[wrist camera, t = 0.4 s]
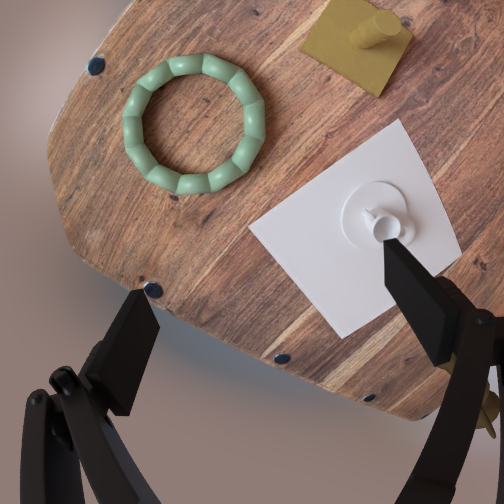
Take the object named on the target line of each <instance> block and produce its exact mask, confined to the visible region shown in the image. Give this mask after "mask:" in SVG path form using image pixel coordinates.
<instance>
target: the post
mask: <svg viewBox="0 0 504 504" xmlns="http://www.w3.org/2000/svg"><path fill="white" fill-rule="evenodd" d="M412 37H413V34H412V33H411V32H409V31H408V30H407V29H406V28H404V27H403V26H402V25H401V21H400V19H399V18H398V16H397V15H396V14H395V13H393V12H392V11H389V10H379V9H377V8H376V7H374V6H373V5H371V4H370V3H368V2H367V1H365V0H330V2H329V3H328V5H327V6H326V8H325V9H324V11H323V12H322V14H321V15H320V17H319V19H318V20H317V22H316V23H315V25H314V26H313V28H312V30H311V31H310V33H309V34H308V36H307V38H306V39H305V41H304V42H303V44H302V46H301V47H300V49H299V51H301V52H303V53H304V54H306V55H308V56H310V57H312V58H313V59H315V60H317V61H319V62H320V63H322V64H324V65H325V66H327V67H329V68H330V69H332V70H334V71H335V72H337V73H339V74H340V75H342V76H343V77H345V78H347V79H348V80H350V81H351V82H353V83H354V84H356V85H357V86H359V87H360V88H362V89H363V90H365V91H366V92H368V93H369V94H371V95H372V96H373V97H379V95H380V94H381V92H382V90H383V88H384V87H385V85H386V83H387V81H388V80H389V78H390V76H391V74H392V73H393V71H394V69H395V67H396V65H397V64H398V62H399V60H400V58H401V56H402V55H403V53H404V51H405V49H406V47H407V46H408V44H409V42H410V40H411V38H412Z"/></svg>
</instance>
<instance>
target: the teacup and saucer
mask: <svg viewBox="0 0 504 504" xmlns="http://www.w3.org/2000/svg"><path fill="white" fill-rule="evenodd" d="M340 225H341V230H342V233H343V235H344V237H345V238H346V240H347V241H348V242H349V243H350V244H351V245H352V246H353V247H355V248H357V249H359V250H361V251H365V252H377V251H381V250H383V240H388V239H392V238H397V239H398V240H399V241H400V242H401V243H402V244H403V245H404V246H405V247H408V246H409V245H410V244H411V243H412V242H413V241H414V240H415V238H416V234H417V228H416V225H415V223H414V221H413V220H412V219H411V218H410V217H408V205H407V202H406V199H405V197H404V195H403V194H402V193H401V191H400V190H399V189H398V188H396V187H395V186H394V185H392V184H390V183H388V182H385V181H370V182H367V183H364V184H362V185H360V186H359V187H357V188H356V189H355V190H354V191H353V192H352V193H351V194H350V195H349V196H348V197H347V199H346V200H345V202H344V204H343V207H342V210H341V215H340Z"/></svg>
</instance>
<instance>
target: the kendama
mask: <svg viewBox="0 0 504 504" xmlns="http://www.w3.org/2000/svg"><path fill="white" fill-rule="evenodd" d="M456 358H457V357H456V356H455V354H454V353H453V352H452V356H451V359H450V362H447V363H445V364H442V365H439V366H438V367H439V368H441V369H445V370H446V371H447V372H448V373H449V374H450V375H452V372H453V368H454V365H455V362H456ZM489 386H490V384H489V382H488V380H487V384H486V389H485V394H484V398H483V402H482V406H481V410H480V414H479V418H478V421H477V425H476V428H475V429H481V428H486V429H487V431H488V433H489V434H490V436H491V437H492V438H493V439H495V438H496V434H495V431H494V428H493V426H492V424H491V423H492V422H493V421H494V420H495V419H496V418H497V416H498V414H499V412H500V401H499V397H498V396H497V395H496V394H495V393H494V392H492V391H489V388H490V387H489ZM446 390H447V389H446ZM445 393H446V391H445Z"/></svg>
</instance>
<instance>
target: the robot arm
mask: <svg viewBox="0 0 504 504" xmlns="http://www.w3.org/2000/svg"><path fill="white" fill-rule="evenodd" d="M383 249H384V285H385V287H386V288H387V290H388V291H389V293H390V294H391V296H392V297H393V299H394V301H395V302H396V304H397V305H398V307H399V308H400V310H401V312H402V313H403V315H404V316H405V318H406V320H407V321H408V323H409V324H410V326H411V328H412V329H413V331H414V333H415V334H416V336H417V338H418V339H419V341H420V343H421V344H422V346H423V348H424V349H425V351H426V353H427V355H428V356H429V358H430V360H431V362H432V363H433V365H434V367H436V366H439V365H442V364H445V363H447V362H450V359H451V356H452V352H453V353H454V354H455V356H456V357H457V358H456V362H455V365H454V368H453V372H452V375H451V378H450V381H449V384H448V387H447V390H446V393H445V396H444V399H443V402H442V404H441V407H440V410H439V413H438V415H437V418H436V420H435V423H434V425H433V428H432V430H431V432H430V435H429V437H428V439H427V442H426V444H425V446H424V448H423V450H422V452H421V455H420V457H419V459H418V461H417V463H416V465H415V467H414V469H413V471H412V473H411V475H410V477H409V479H408V481H407V482H406V484H405V486H404V488H403V489H402V491H401V493H400V495H399V497H398V498H397V500H396V502H395V504H450V503H451V501H452V499H453V496H454V494H455V490H456V488H455V485H456V482H457V479H458V477H459V474H460V472H461V469H462V467H463V464H464V461H465V459H466V456H467V453H468V450H469V447H470V444H471V441H472V438H473V435H474V431H475V428H476V425H477V421H478V418H479V414H480V410H481V406H482V402H483V398H484V394H485V389H486V384H487V380H488V374H489V369H490V366H496V367H497V377H498V387H499V401H500V425H501V427H500V430H501V431H500V432H501V436H500V437H501V438H500V439H501V441H500V467H499V481H498V491H497V500H496V504H504V317H495V316H494V315H493V313H491V312H490V311H488V310H485V309H477V308H476V307H475V306H474V305H473V304H472V303H471V301H470V300H469V299H468V298H467V297H466V296H465V295H464V294H463V293H462V292H461V290H460V289H459V288H457V286H456V285H455V284H454V283H453V282H452V281H451V280H449V279H447V278H445V277H443V276H440V277H437V278H434V277H433V276H432V275H431V274H430V273H429V272H428V271H427V269H426V268H425V267H424V266H423V265H422V264H421V263H420V262H419V261H418V260H417V259H416V258H415V257H414V256H413V255H412V253H411V252H410V251H409V250H408V249H407V248H406V247H405V246H404V245H403V244H402V243H401V242H400V241H399V240H398V239H397V238H392V239H388V240H383ZM159 329H160V326H159V324H158V322H157V320H156V317H155V315H154V313H153V311H152V309H151V306H150V304H149V302H148V300H147V297H146V295H145V293H144V291H143V289H137V290H132V291H130V293H129V295H128V297H127V298H126V300H125V302H124V303H123V305H122V307H121V309H120V310H119V312H118V314H117V315H116V317H115V319H114V321H113V322H112V324H111V326H110V328H109V330H108V331H107V333H106V335H105V337H104V339H103V340H102V341H99V342H98V343H97V344H96V345H95V346H94V347H93V349H92V351H91V352H90V354H89V356H88V358H87V359H86V362H85V363H84V365H83V367H82V369H81V371H80V373H79V374H78V376H77V375H76V374H75V372H74V371H73V370H72V368H71V367H69V366H63V367H60V368H58V369H57V370H55V371H54V372H53V373H52V374H51V376H50V378H49V383H50V385H51V386H52V387H53V388H54V390H55V391H56V392H57V394H54V395H50V396H49V394H48V393H47V392H46V391H45V390H44V389H37V390H36V391H33V392H32V393H31V394H30V396H29V397H28V399H27V402H26V409H25V417H24V425H23V435H22V448H21V466H20V504H85V499H84V492H83V486H82V479H81V471H80V462H81V464H82V467H83V469H84V471H85V474H86V476H87V479H88V481H89V483H90V486H91V488H92V490H93V492H94V494H95V496H96V499H97V501H98V503H99V504H161V502H160V501H159V499H158V498H157V497H156V495H155V494H154V492H153V491H152V489H151V488H150V486H149V485H148V483H147V482H146V480H145V479H144V477H143V476H142V474H141V472H140V471H139V469H138V467H137V466H136V464H135V462H134V461H133V459H132V457H131V456H130V454H129V452H128V451H127V449H126V447H125V445H124V444H123V442H122V440H121V438H120V436H119V434H118V433H117V431H116V429H115V427H114V425H113V423H112V421H111V419H110V418H109V417H108V415H107V412H108V409H110V410H111V411H112V412H113V413H114V415H115V416H129V415H130V411H131V409H132V406H133V402H134V400H135V397H136V394H137V390H138V388H139V385H140V382H141V379H142V376H143V374H144V371H145V368H146V365H147V362H148V359H149V356H150V354H151V351H152V348H153V346H154V342H155V340H156V337H157V335H158V332H159ZM79 459H80V461H79Z"/></svg>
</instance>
